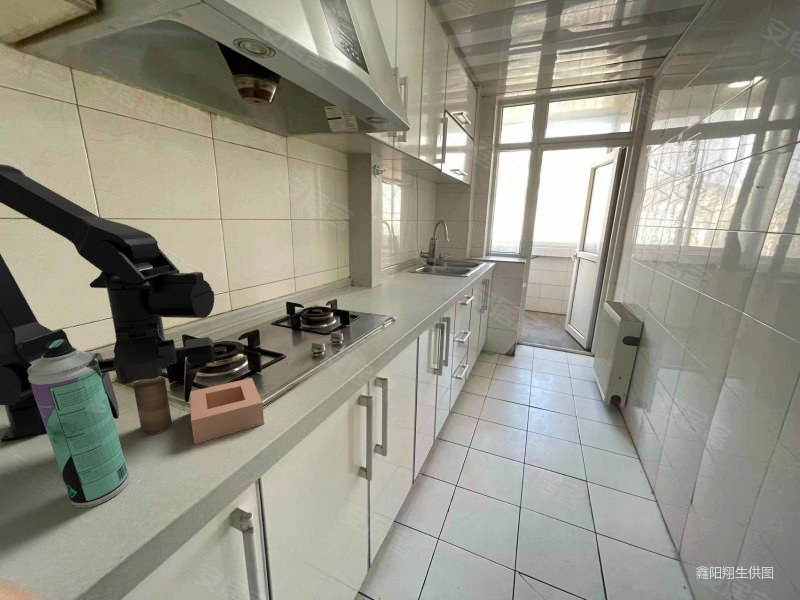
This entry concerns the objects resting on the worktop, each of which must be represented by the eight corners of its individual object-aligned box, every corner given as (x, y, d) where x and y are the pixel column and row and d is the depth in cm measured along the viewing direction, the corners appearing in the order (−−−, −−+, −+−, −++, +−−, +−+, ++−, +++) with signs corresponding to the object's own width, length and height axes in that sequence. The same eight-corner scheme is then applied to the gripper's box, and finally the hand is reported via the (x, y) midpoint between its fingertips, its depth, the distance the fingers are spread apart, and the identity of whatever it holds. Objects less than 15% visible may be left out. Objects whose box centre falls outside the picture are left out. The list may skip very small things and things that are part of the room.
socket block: (192, 411, 58) (189, 391, 57) (253, 396, 63) (251, 377, 62) (194, 444, 50) (191, 420, 49) (264, 423, 55) (262, 402, 54)
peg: (143, 424, 54) (135, 380, 52) (172, 417, 56) (165, 374, 54) (140, 437, 51) (131, 391, 49) (171, 429, 53) (164, 384, 51)
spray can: (124, 464, 45) (86, 328, 39) (134, 487, 41) (94, 341, 36) (68, 490, 41) (17, 342, 35) (74, 517, 37) (18, 358, 32)
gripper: (27, 344, 37) (57, 460, 41) (212, 321, 47) (223, 416, 51) (57, 319, 46) (79, 416, 50) (207, 304, 56) (217, 386, 60)
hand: (153, 408), depth 53 cm, fingers open, 9 cm apart
